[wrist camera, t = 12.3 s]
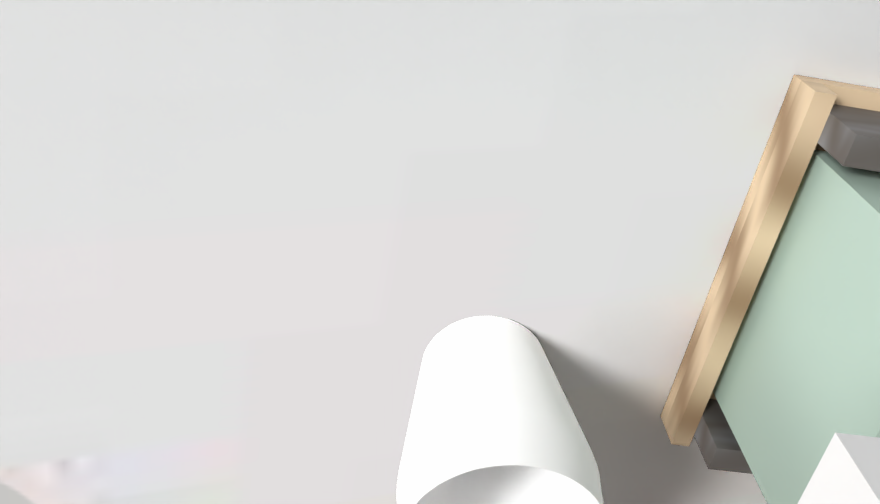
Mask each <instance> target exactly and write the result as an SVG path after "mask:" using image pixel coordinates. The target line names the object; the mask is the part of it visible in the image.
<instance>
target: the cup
mask: <svg viewBox="0 0 880 504" xmlns="http://www.w3.org/2000/svg"><path fill="white" fill-rule="evenodd" d="M396 498H397V504H604V502H603V496H602V491H601V483H600V474H599V470H598V466H597V463H596V461H595V458H594V455H593V453H592V451H591V448H590V446H589V444H588V442H587V440H586V438H585V436H584V434H583V432H582V429H581V427H580V425H579V423H578V421H577V419H576V417H575V415H574V413H573V411H572V409H571V407H570V404H569V402H568V400H567V398H566V396H565V394H564V392H563V390H562V388H561V386H560V384H559V382H558V379H557V377H556V375H555V373H554V371H553V369H552V367H551V365H550V363H549V361H548V359H547V357H546V355H545V352H544V350H543V348H542V346H541V344H540V342H539V341H538V339H537V338H536V337H535V336H534V334H533V333H532V332H530V331H529V330H528V329H527V328H526V327H524V326H522V325H521V324H519V323H517V322H515V321H512V320H510V319H506V318H503V317H497V316H476V317H470V318H466V319H463V320H460V321H457V322H455V323H453V324H451V325H449V326H447V327H446V328H444V329H443V330H442V331H440V332H439V333H438V334H437V335H436V336H435V337H434V338H433V339H432V340H431V342H430V343H429V345H428V346H427V348H426V350H425V353H424V356H423V359H422V364H421V369H420V373H419V378H418V383H417V387H416V392H415V397H414V401H413V406H412V411H411V415H410V420H409V425H408V429H407V434H406V439H405V444H404V448H403V453H402V458H401V463H400V468H399V472H398V479H397V487H396Z"/></svg>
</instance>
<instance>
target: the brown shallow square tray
mask: <svg viewBox="0 0 880 504" xmlns="http://www.w3.org/2000/svg"><path fill="white" fill-rule="evenodd" d="M814 150H821V151H827V152H828V153H829V154H830V155H831V156H832V157H833V158H835V159H836V160H837V161H838V162H839V163H840V164H841V165H842V166H846V167H852V168H859V169H865V170H871V171H878V172H880V89H877V88H871V87H865V86H859V85H853V84H847V83H841V82H835V81H829V80H823V79H817V78H812V77H806V76H800V75H794V76H793V78H792V81H791V83H790V86H789V89H788V91H787V94H786V96H785V99H784V101H783V104H782V106H781V109H780V112H779V114H778V117H777V119H776V122H775V124H774V127H773V130H772V132H771V135H770V137H769V140H768V142H767V145H766V147H765V150H764V153H763V155H762V158H761V160H760V163H759V165H758V168H757V170H756V173H755V176H754V178H753V181H752V183H751V186H750V188H749V191H748V193H747V196H746V199H745V201H744V204H743V206H742V209H741V211H740V214H739V217H738V219H737V222H736V224H735V227H734V229H733V232H732V234H731V237H730V240H729V242H728V245H727V247H726V250H725V252H724V255H723V257H722V260H721V263H720V265H719V268H718V270H717V273H716V275H715V278H714V280H713V283H712V286H711V288H710V291H709V293H708V296H707V298H706V301H705V304H704V306H703V309H702V311H701V314H700V316H699V319H698V321H697V324H696V327H695V329H694V332H693V334H692V337H691V339H690V342H689V344H688V347H687V350H686V352H685V355H684V357H683V360H682V362H681V365H680V367H679V370H678V373H677V375H676V378H675V380H674V383H673V385H672V388H671V391H670V393H669V396H668V398H667V401H666V403H665V406H664V408H663V411H662V414H661V418H662V421H663V423H664V426H665V429H666V431H667V434H668V436H669V439H670V442H671V444H673V445H682V446H690V443H691V441H692V439H693V436H694V437H695V439H696V441H697V444H698V446H699V448H700V451H701V453H702V455H703V458H704V460H705V462H706V465H707V467H708V469H714V470H723V471H732V472H741V473H750V474H753V473H752V471H751V469H750V467H749V465H748V463H747V461H746V459H745V457H744V455H743V453H742V451H741V448H740V446H739V444H738V442H737V440H736V438H735V436H734V434H733V432H732V430H731V428H730V426H729V424H728V422H727V420H726V418H725V416H724V414H723V411H722V409H721V407H720V405H719V403H718V401H717V399H716V397H715V395H714V393H713V389H714V386H715V384H716V382H717V379H718V377H719V375H720V372H721V370H722V368H723V365H724V363H725V360H726V358H727V356H728V353H729V351H730V349H731V346H732V344H733V341H734V339H735V337H736V334H737V332H738V330H739V327H740V325H741V323H742V320H743V318H744V315H745V313H746V311H747V308H748V306H749V304H750V301H751V299H752V296H753V294H754V292H755V289H756V287H757V285H758V282H759V280H760V278H761V275H762V273H763V270H764V268H765V266H766V263H767V261H768V259H769V256H770V254H771V251H772V249H773V247H774V244H775V242H776V240H777V237H778V235H779V233H780V230H781V228H782V225H783V223H784V221H785V218H786V216H787V214H788V211H789V209H790V206H791V204H792V202H793V199H794V197H795V195H796V192H797V190H798V188H799V185H800V183H801V180H802V178H803V176H804V173H805V171H806V169H807V166H808V164H809V161H810V159H811V157H812V154H813V152H814Z"/></svg>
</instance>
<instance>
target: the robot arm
mask: <svg viewBox="0 0 880 504" xmlns="http://www.w3.org/2000/svg"><path fill="white" fill-rule="evenodd" d="M798 504H880V438H878V437H869V436H861V435H852V434H844V433H836V432H835V434H834V436H833V438H832V439H831V441H830V443H829V445H828V447H827V449H826V451H825V453H824V455H823V456H822V458H821V460H820V462H819V464H818V466H817V468H816V470H815V472H814V473H813V475H812V477H811V479H810V481H809V483H808V485H807V487H806V489H805V490H804V492H803V494H802V496H801V498H800V500H799V502H798Z"/></svg>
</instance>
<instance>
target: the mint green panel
mask: <svg viewBox="0 0 880 504" xmlns="http://www.w3.org/2000/svg"><path fill="white" fill-rule="evenodd" d="M713 393H714V395H715V397H716V399H717V401H718V403H719V405H720V407H721V409H722V411H723V414H724V416H725V418H726V420H727V422H728V424H729V426H730V428H731V430H732V432H733V434H734V436H735V438H736V440H737V442H738V444H739V446H740V448H741V451H742V453H743V455H744V457H745V459H746V461H747V463H748V465H749V467H750V469H751V471H752V473H753V475H754V477H755V479H756V481H757V483H758V485H759V488H760V490H761V492H762V494H763V496H764V498H765V500H766V502H767V504H798V502H799V500H800V498H801V496H802V494H803V492H804V490H805V489H806V487H807V485H808V483H809V481H810V479H811V477H812V475H813V473H814V472H815V470H816V468H817V466H818V464H819V462H820V460H821V458H822V456H823V455H824V453H825V451H826V449H827V447H828V445H829V443H830V441H831V439H832V438H833V436H834V434H835V432H836V433H844V434H852V435H861V436H869V437H878V438H880V172H878V171H871V170H865V169H859V168H852V167H846V166H842V165H841V164H840V163H839V162H838V161H837V160H836V159H835V158H833V157H832V156H831V155H830V154H829V153H828V152H827V151H821V150H814V152H813V154H812V157H811V159H810V161H809V164H808V166H807V169H806V171H805V173H804V176H803V178H802V180H801V183H800V185H799V188H798V190H797V192H796V195H795V197H794V199H793V202H792V204H791V206H790V209H789V211H788V214H787V216H786V218H785V221H784V223H783V225H782V228H781V230H780V233H779V235H778V237H777V240H776V242H775V244H774V247H773V249H772V251H771V254H770V256H769V259H768V261H767V263H766V266H765V268H764V270H763V273H762V275H761V278H760V280H759V282H758V285H757V287H756V289H755V292H754V294H753V296H752V299H751V301H750V304H749V306H748V308H747V311H746V313H745V315H744V318H743V320H742V323H741V325H740V327H739V330H738V332H737V334H736V337H735V339H734V341H733V344H732V346H731V349H730V351H729V353H728V356H727V358H726V360H725V363H724V365H723V368H722V370H721V372H720V375H719V377H718V379H717V382H716V384H715V386H714V389H713Z"/></svg>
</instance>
